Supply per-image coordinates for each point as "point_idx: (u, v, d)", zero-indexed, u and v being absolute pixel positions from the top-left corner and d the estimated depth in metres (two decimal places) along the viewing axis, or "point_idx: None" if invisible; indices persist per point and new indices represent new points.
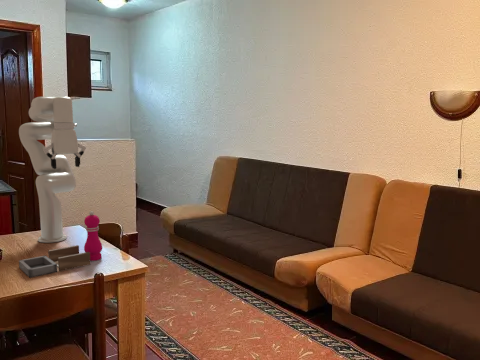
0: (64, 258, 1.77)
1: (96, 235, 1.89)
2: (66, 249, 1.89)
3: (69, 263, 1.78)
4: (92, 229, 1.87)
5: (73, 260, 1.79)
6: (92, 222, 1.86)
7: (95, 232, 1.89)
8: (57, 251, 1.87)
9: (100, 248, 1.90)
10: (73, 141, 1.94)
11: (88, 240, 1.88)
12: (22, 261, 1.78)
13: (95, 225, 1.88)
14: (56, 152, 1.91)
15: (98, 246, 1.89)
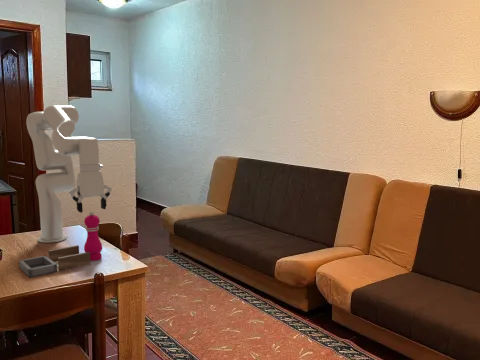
0: (64, 258, 1.77)
1: (96, 235, 1.89)
2: (66, 249, 1.89)
3: (69, 263, 1.78)
4: (92, 229, 1.87)
5: (73, 260, 1.79)
6: (92, 222, 1.86)
7: (95, 232, 1.89)
8: (57, 251, 1.87)
9: (100, 248, 1.90)
10: (99, 183, 1.87)
11: (88, 240, 1.88)
12: (22, 261, 1.78)
13: (95, 225, 1.88)
14: (82, 195, 1.83)
15: (98, 246, 1.89)
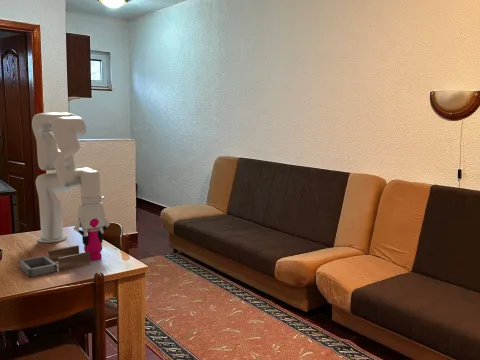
0: (64, 258, 1.77)
1: (96, 235, 1.89)
2: (66, 249, 1.89)
3: (69, 263, 1.78)
4: (92, 229, 1.87)
5: (73, 260, 1.79)
6: (92, 222, 1.86)
7: (95, 232, 1.89)
8: (57, 251, 1.87)
9: (100, 248, 1.90)
10: (100, 215, 1.89)
11: (88, 240, 1.88)
12: (22, 261, 1.78)
13: (95, 225, 1.88)
14: (83, 227, 1.85)
15: (98, 246, 1.89)
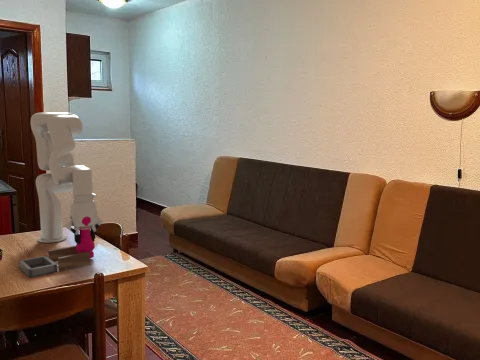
0: (64, 258, 1.77)
1: (88, 233, 1.87)
2: (66, 249, 1.89)
3: (69, 263, 1.78)
4: (84, 227, 1.85)
5: (73, 260, 1.79)
6: (85, 220, 1.84)
7: (87, 230, 1.87)
8: (57, 251, 1.87)
9: (92, 246, 1.88)
10: (93, 213, 1.87)
11: (80, 238, 1.86)
12: (22, 261, 1.78)
13: (87, 223, 1.86)
14: (75, 226, 1.83)
15: (91, 245, 1.87)
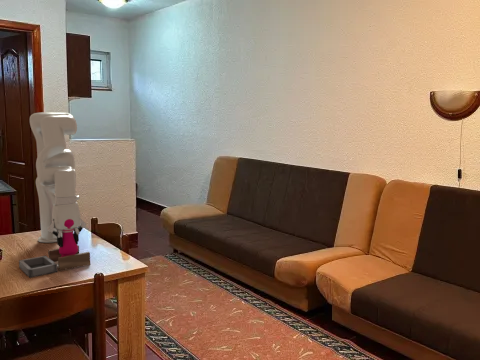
0: (64, 258, 1.77)
1: (71, 236, 1.83)
2: None
3: (69, 263, 1.78)
4: (67, 230, 1.81)
5: (73, 260, 1.79)
6: (67, 223, 1.80)
7: (70, 233, 1.82)
8: (57, 251, 1.87)
9: (75, 249, 1.83)
10: (76, 215, 1.82)
11: (63, 241, 1.82)
12: (22, 261, 1.78)
13: (70, 226, 1.81)
14: (58, 228, 1.79)
15: (74, 248, 1.83)
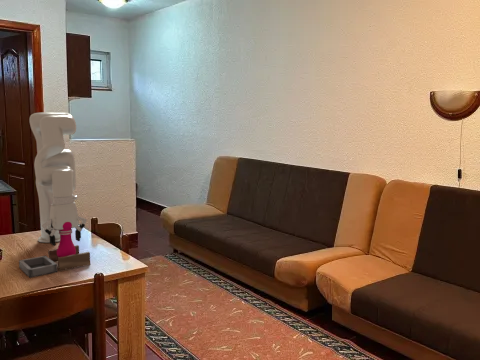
0: (64, 258, 1.77)
1: (69, 238, 1.83)
2: None
3: (69, 263, 1.78)
4: (65, 232, 1.81)
5: (73, 260, 1.79)
6: (65, 225, 1.80)
7: (68, 235, 1.82)
8: None
9: (73, 252, 1.83)
10: (73, 215, 1.82)
11: (61, 244, 1.82)
12: (22, 261, 1.78)
13: (68, 228, 1.81)
14: (55, 228, 1.78)
15: (72, 250, 1.82)
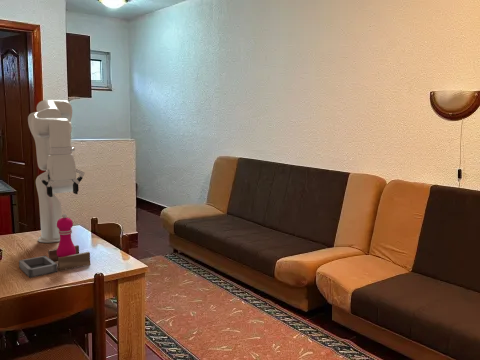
0: (64, 258, 1.77)
1: (69, 238, 1.83)
2: None
3: (69, 263, 1.78)
4: (65, 232, 1.81)
5: (73, 260, 1.79)
6: (65, 225, 1.80)
7: (68, 235, 1.82)
8: None
9: (73, 252, 1.83)
10: (71, 167, 1.79)
11: (61, 244, 1.82)
12: (22, 261, 1.78)
13: (68, 228, 1.81)
14: (52, 179, 1.75)
15: (71, 250, 1.82)
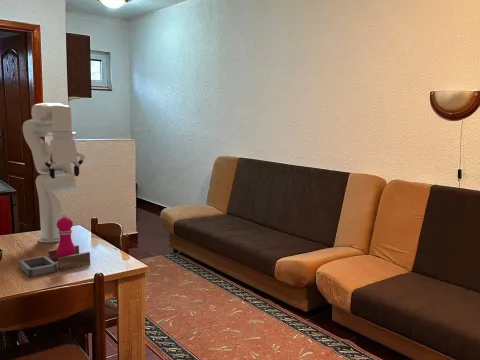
0: (64, 258, 1.77)
1: (69, 238, 1.83)
2: None
3: (69, 263, 1.78)
4: (64, 232, 1.81)
5: (73, 260, 1.79)
6: (65, 225, 1.80)
7: (68, 235, 1.82)
8: None
9: (73, 252, 1.83)
10: (72, 150, 1.90)
11: (60, 244, 1.81)
12: (22, 261, 1.78)
13: (68, 228, 1.81)
14: (55, 161, 1.87)
15: (71, 250, 1.82)
